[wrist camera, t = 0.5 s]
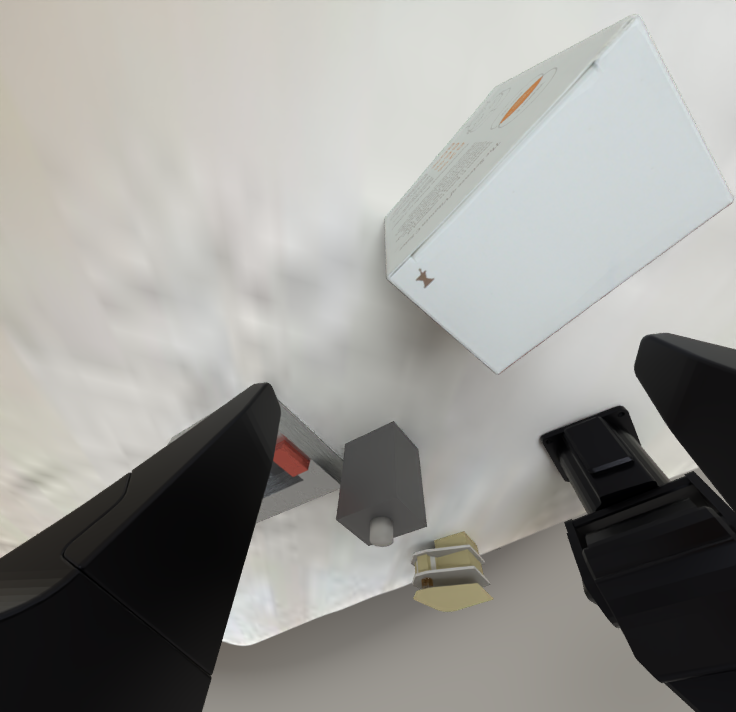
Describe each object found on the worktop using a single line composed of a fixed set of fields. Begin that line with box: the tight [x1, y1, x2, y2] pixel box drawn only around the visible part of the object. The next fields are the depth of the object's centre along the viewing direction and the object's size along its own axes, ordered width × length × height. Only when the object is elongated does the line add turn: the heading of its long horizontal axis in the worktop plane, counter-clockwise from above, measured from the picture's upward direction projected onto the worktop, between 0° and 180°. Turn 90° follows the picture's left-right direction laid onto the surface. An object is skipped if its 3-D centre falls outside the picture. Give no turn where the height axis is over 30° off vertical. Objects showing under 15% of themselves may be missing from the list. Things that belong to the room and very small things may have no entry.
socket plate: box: [168, 400, 343, 523], centre depth 29 cm, size 11×11×3 cm
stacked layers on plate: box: [411, 532, 501, 612], centre depth 35 cm, size 10×9×6 cm
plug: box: [336, 421, 427, 547], centre depth 26 cm, size 4×5×8 cm
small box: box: [384, 14, 734, 374], centre depth 14 cm, size 8×6×10 cm
